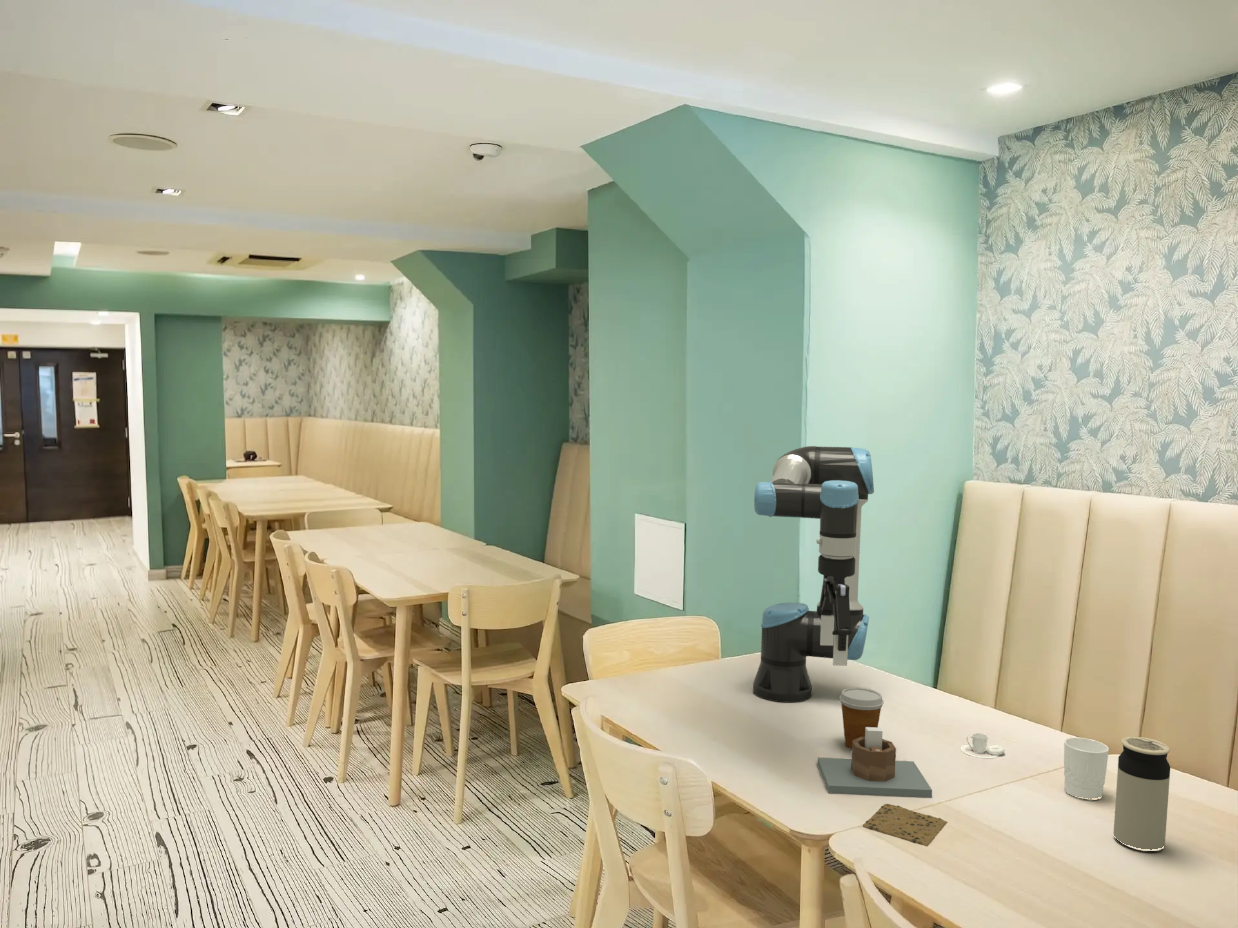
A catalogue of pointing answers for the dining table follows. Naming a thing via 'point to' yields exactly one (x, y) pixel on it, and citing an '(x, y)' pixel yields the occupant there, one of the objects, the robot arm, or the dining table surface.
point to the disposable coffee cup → (859, 712)
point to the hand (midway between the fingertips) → (833, 654)
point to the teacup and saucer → (982, 746)
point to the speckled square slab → (905, 824)
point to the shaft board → (844, 781)
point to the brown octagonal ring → (873, 760)
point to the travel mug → (1142, 793)
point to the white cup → (1085, 767)
